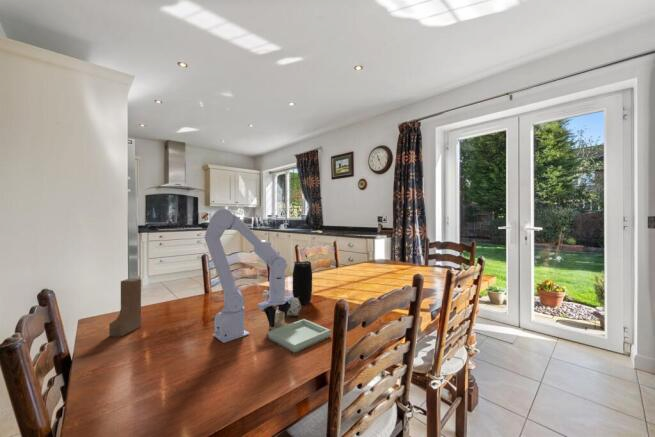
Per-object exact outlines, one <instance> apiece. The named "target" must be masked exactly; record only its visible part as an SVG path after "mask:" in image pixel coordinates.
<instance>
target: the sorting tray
mask: <svg viewBox="0 0 655 437" xmlns="http://www.w3.org/2000/svg"><path fill="white" fill-rule="evenodd" d="M331 331H332V330H331V329H330V328H327V327H325V326H322V325H319V324H318V323H316V322H312V321H310V320H307V319H305V318H303V319H299V320H298V321H294V322H291V323H288V324H284V326H282V327H279V328H276V329H274V330H271V329H270V330H269V331H268V334H267V335H268V340H269V341H271V342H273V341H274V343H275V342H276V344H277V343H278V344H277V345H279V346H280V345H281V347H282V346H283V348H284V347H285V348H284V349H286V348H287V349H286V350H288V349H289V350H290V351H289V350H288V351H289V352H291V351H292V352H291V353H293V352H294V353H293V354H296V353H298V352H301V351H303V350H304V348H305V349H307V348H309V346H310V347H311V345H312V346H313V344H314V345H316V344H318V343H317V342H319V341H321V342H322V340H323V339H325V338H327V337H329V336H330V338H331V337H332V336H331V335H332V334H331ZM327 339H328V338H327ZM325 340H326V339H325ZM323 341H324V340H323ZM315 343H316V344H315ZM319 343H320V342H319ZM306 347H307V348H306ZM302 349H303V350H302ZM300 350H301V351H300ZM297 351H298V352H297ZM295 352H296V353H295Z"/></svg>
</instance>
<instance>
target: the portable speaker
mask: <svg viewBox="0 0 655 437" xmlns="http://www.w3.org/2000/svg"><path fill="white" fill-rule="evenodd" d="M293 263H294V264H293V265H294V266H293V271H292V296H294V298H298V296H299V298H298V299H299V301H300V304H304V305H305V304H308V305H310V304H311V299H312V293H313V270H312V263H311V261H308V260H305V261H294V262H293ZM309 303H310V304H309Z"/></svg>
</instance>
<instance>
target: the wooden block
mask: <svg viewBox="0 0 655 437" xmlns="http://www.w3.org/2000/svg"><path fill="white" fill-rule="evenodd" d="M119 310H120V311H119V313H118V316H117V317H116V319H114V320H113V321H111V322H110V323H109V324H108V325H109V327H108V328H109V332H108V333H109V334H108V335H109V337H115V338H117V337H118V338H122V337H124V336H126V335H127V334H129V333H131V332H133V331H135V330H137V329H139V328H141V327H142V279H141V278H134V277H133V278H131V277H130V278H127V279H124V280H120V308H119Z"/></svg>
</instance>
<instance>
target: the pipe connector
mask: <svg viewBox="0 0 655 437" xmlns="http://www.w3.org/2000/svg"><path fill="white" fill-rule="evenodd" d="M261 298H262V299H266V298H269V290H267V289H263V291H262V294H261Z"/></svg>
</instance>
